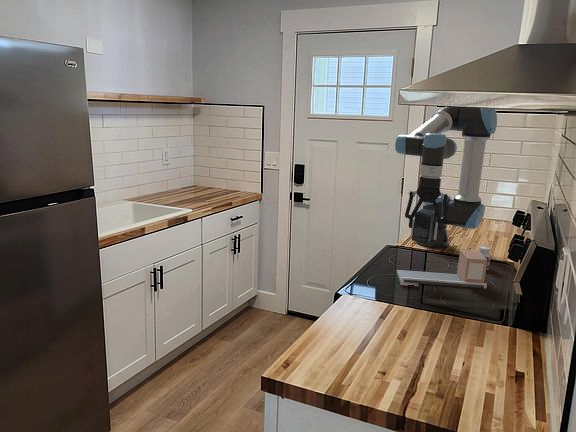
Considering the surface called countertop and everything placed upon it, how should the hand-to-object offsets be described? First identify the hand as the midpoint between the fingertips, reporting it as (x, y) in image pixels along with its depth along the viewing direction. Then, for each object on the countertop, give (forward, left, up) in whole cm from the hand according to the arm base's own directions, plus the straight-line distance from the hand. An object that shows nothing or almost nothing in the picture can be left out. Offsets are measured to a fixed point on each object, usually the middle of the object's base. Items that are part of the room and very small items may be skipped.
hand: (423, 237), depth 180 cm
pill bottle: (-13, +27, -16) cm, 34 cm away
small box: (0, 0, -1) cm, 1 cm away
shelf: (+3, +7, -16) cm, 18 cm away
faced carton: (+3, +18, -15) cm, 23 cm away
